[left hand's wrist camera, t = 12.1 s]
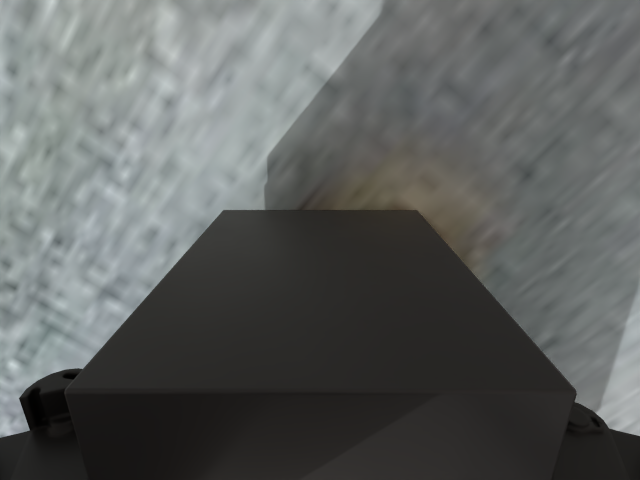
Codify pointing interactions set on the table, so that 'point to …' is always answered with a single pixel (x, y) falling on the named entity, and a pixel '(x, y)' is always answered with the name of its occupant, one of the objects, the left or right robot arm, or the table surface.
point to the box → (320, 362)
